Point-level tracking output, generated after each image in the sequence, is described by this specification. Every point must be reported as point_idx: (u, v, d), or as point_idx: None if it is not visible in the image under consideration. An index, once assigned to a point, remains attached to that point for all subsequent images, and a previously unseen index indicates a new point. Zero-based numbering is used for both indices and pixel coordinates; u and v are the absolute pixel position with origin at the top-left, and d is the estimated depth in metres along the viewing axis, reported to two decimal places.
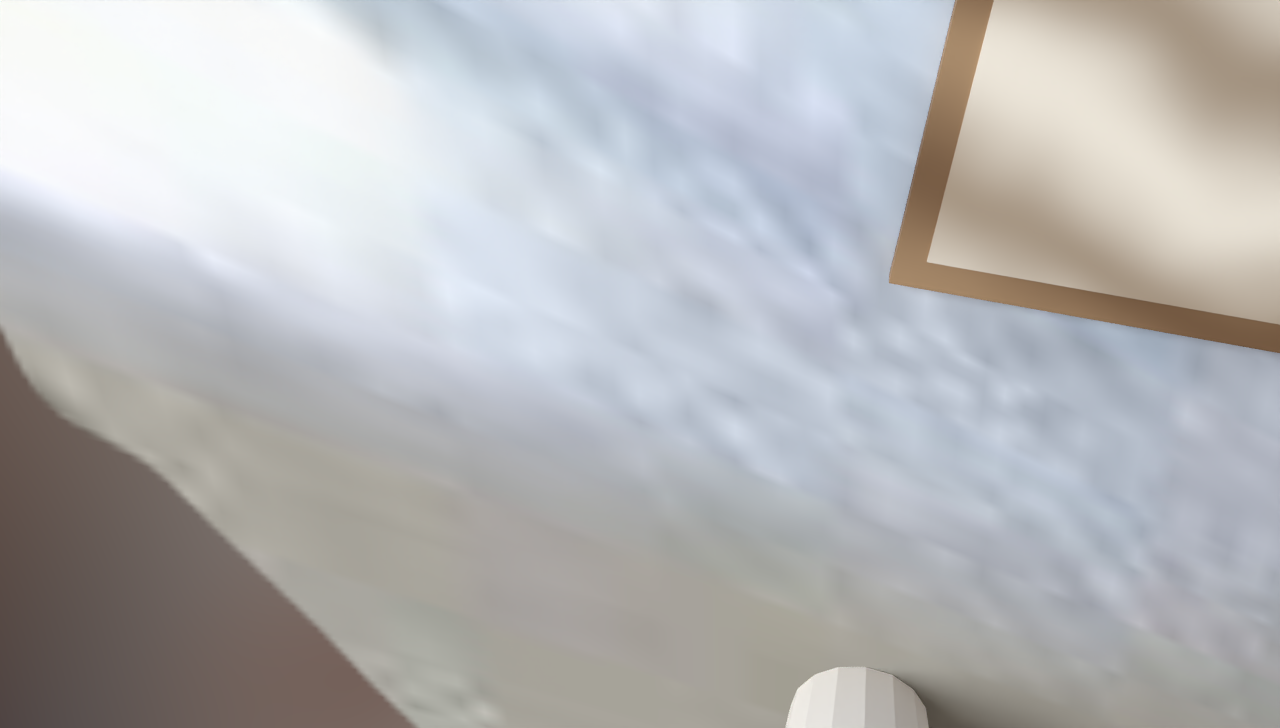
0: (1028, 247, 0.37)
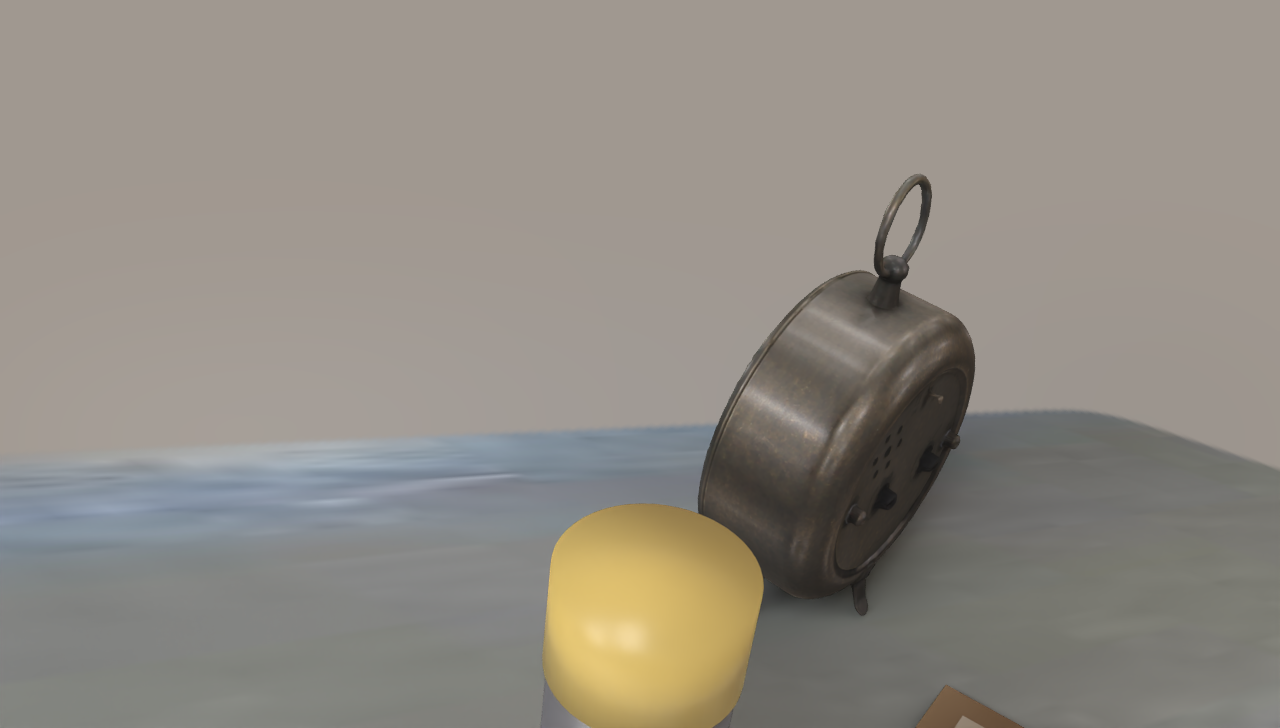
0: None
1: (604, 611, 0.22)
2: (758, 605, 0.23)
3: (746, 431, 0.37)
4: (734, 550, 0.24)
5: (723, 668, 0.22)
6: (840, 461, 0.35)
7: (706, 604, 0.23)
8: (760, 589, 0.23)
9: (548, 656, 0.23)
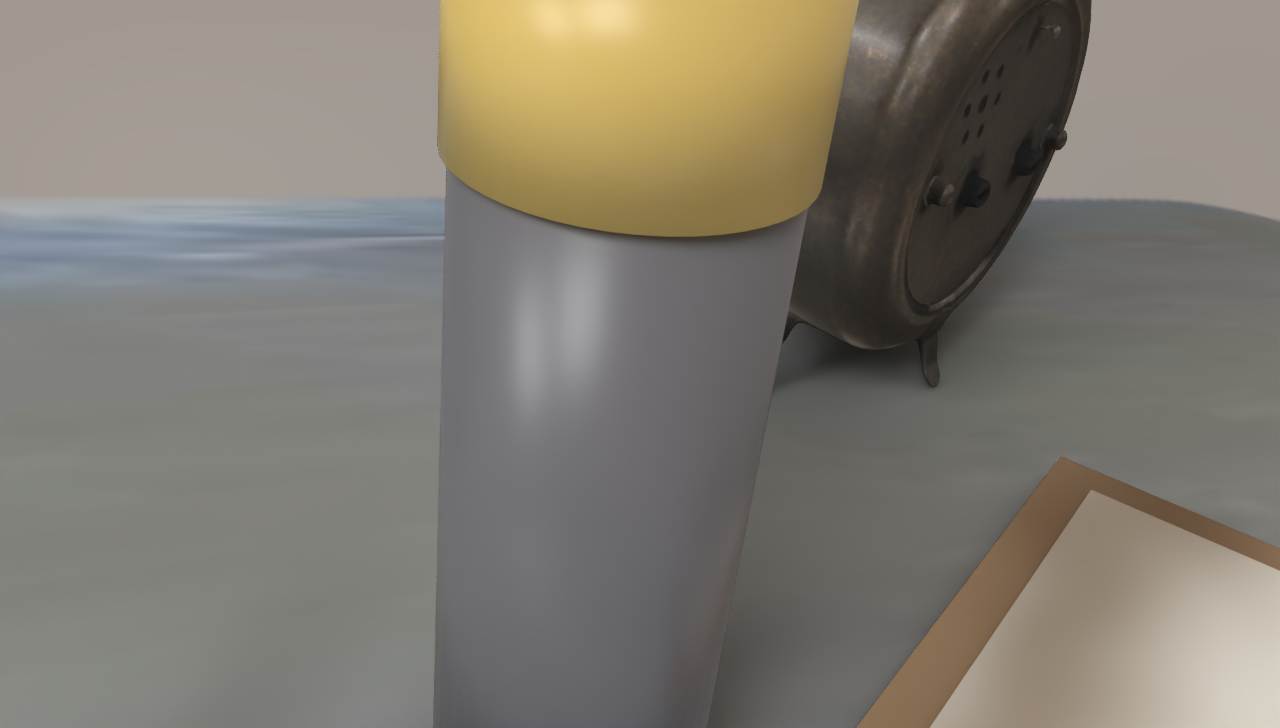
0: None
1: None
2: None
3: None
4: None
5: (797, 64, 0.11)
6: (922, 87, 0.24)
7: None
8: None
9: (443, 97, 0.12)
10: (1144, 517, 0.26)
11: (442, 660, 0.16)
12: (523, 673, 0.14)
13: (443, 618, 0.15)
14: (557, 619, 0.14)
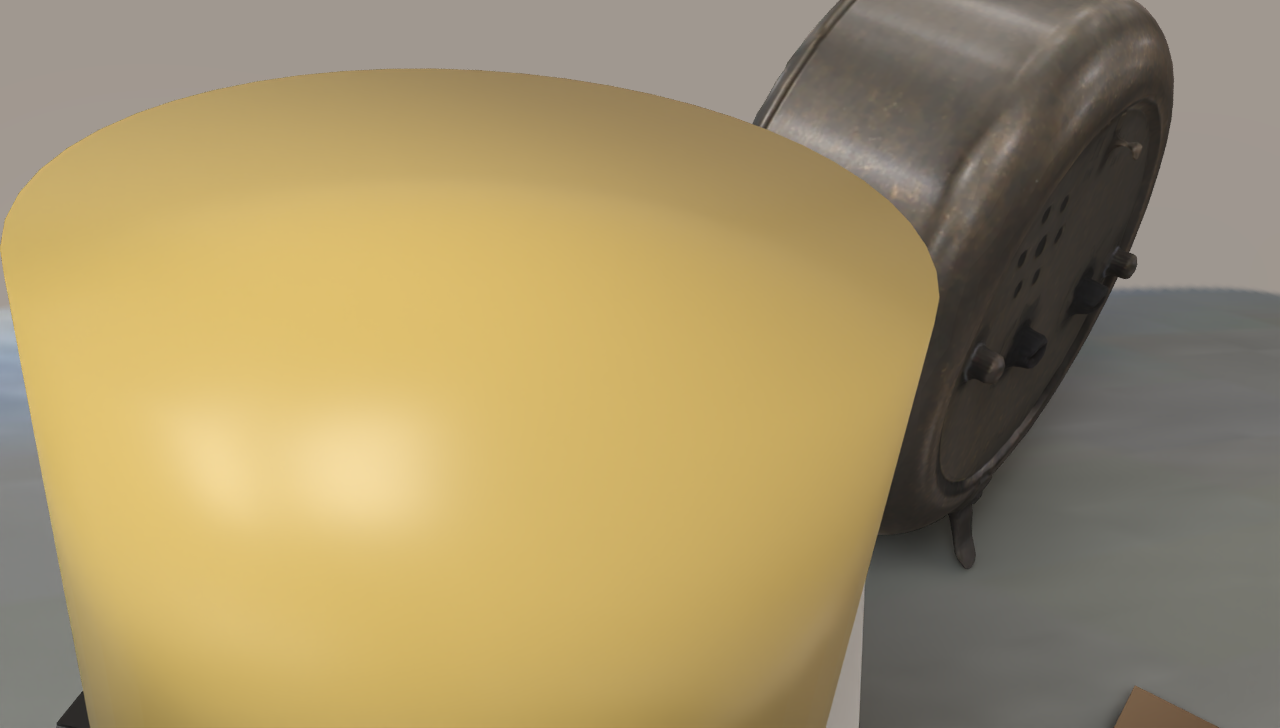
0: None
1: (196, 319, 0.04)
2: (928, 325, 0.05)
3: None
4: (804, 177, 0.06)
5: (781, 599, 0.05)
6: (965, 240, 0.18)
7: (694, 311, 0.05)
8: (929, 277, 0.05)
9: None
10: None
11: None
12: None
13: None
14: None
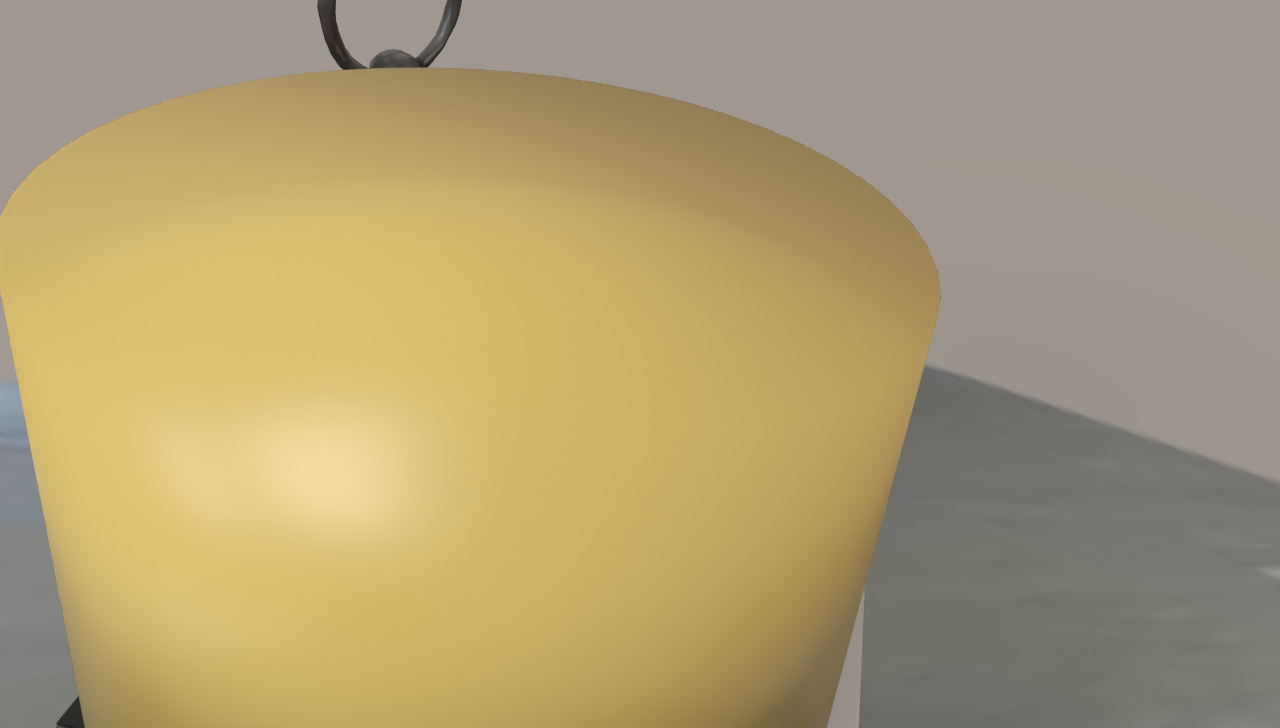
0: None
1: (193, 318, 0.04)
2: (930, 325, 0.05)
3: None
4: (803, 176, 0.06)
5: (782, 603, 0.05)
6: None
7: (695, 311, 0.05)
8: (928, 279, 0.05)
9: None
10: None
11: None
12: None
13: None
14: None
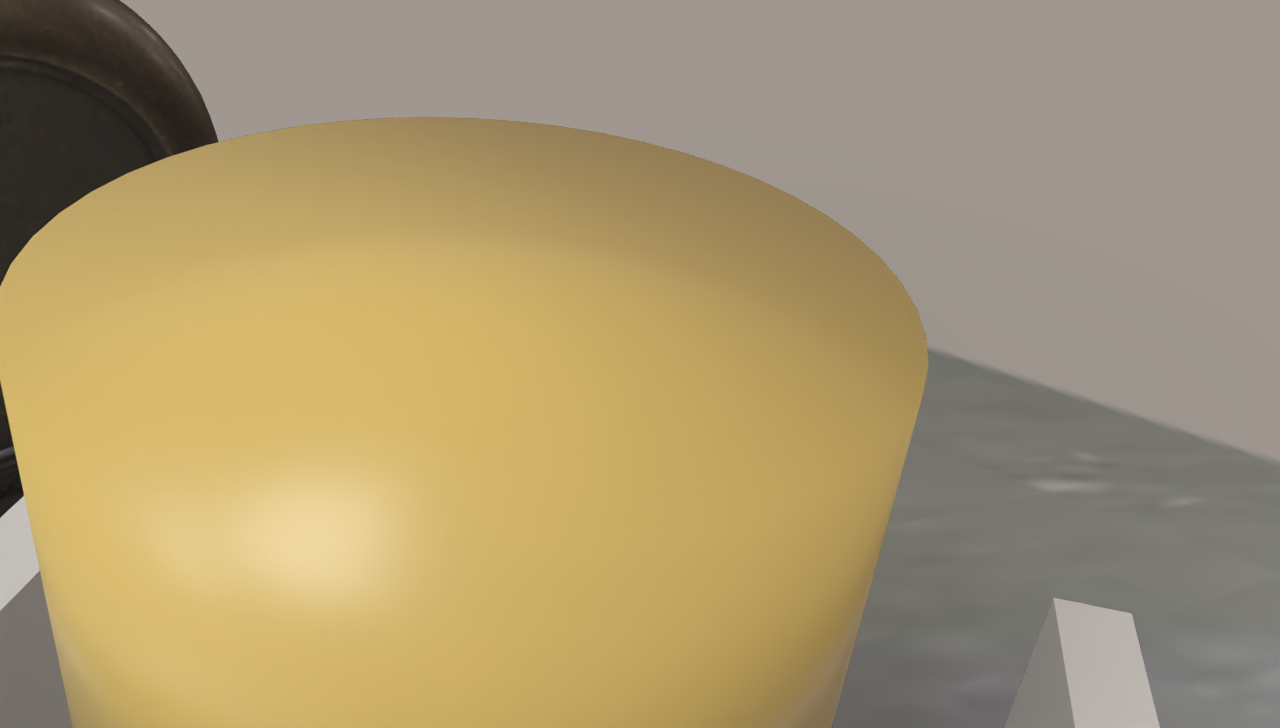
0: None
1: (188, 400, 0.04)
2: (917, 396, 0.05)
3: None
4: (796, 233, 0.06)
5: (770, 674, 0.05)
6: None
7: (682, 385, 0.05)
8: (918, 344, 0.05)
9: None
10: None
11: None
12: None
13: None
14: None
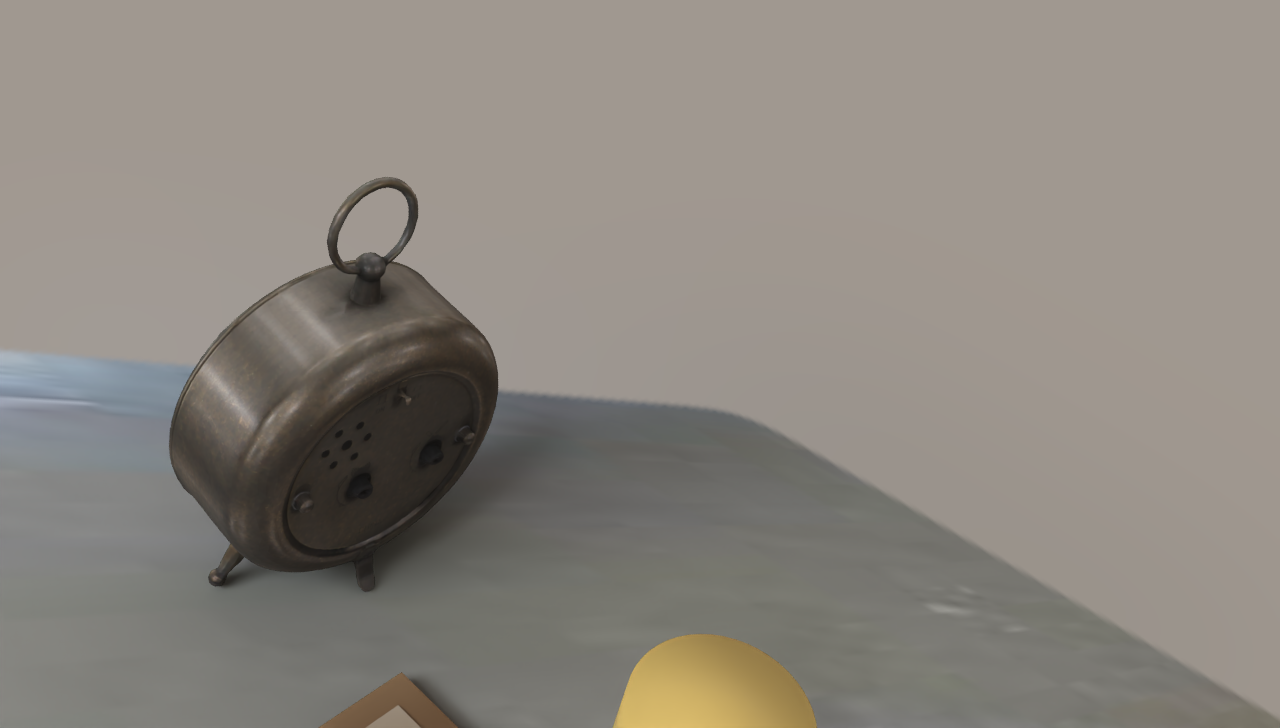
0: None
1: None
2: None
3: (198, 407, 0.37)
4: (793, 698, 0.26)
5: None
6: (267, 451, 0.36)
7: None
8: None
9: None
10: None
11: None
12: None
13: None
14: None
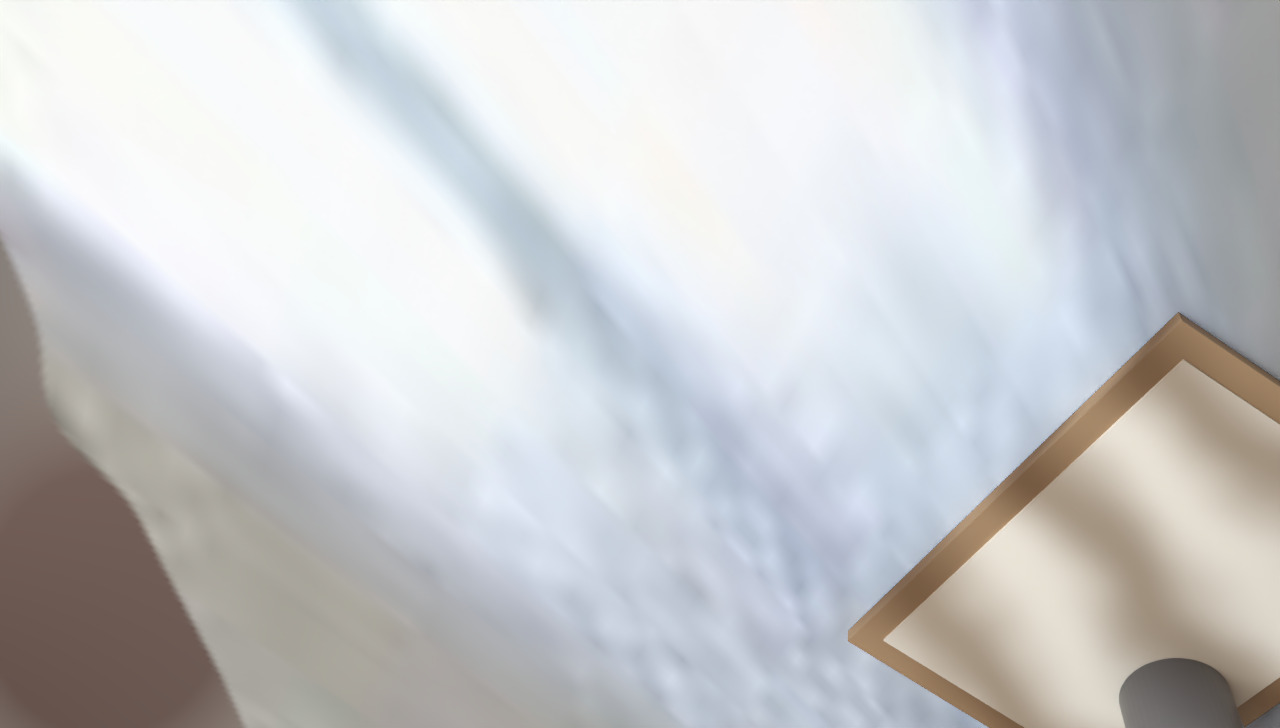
0: (960, 662, 0.47)
1: None
2: None
3: None
4: None
5: None
6: None
7: None
8: None
9: None
10: None
11: None
12: None
13: None
14: None
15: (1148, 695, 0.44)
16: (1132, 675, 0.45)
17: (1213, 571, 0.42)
